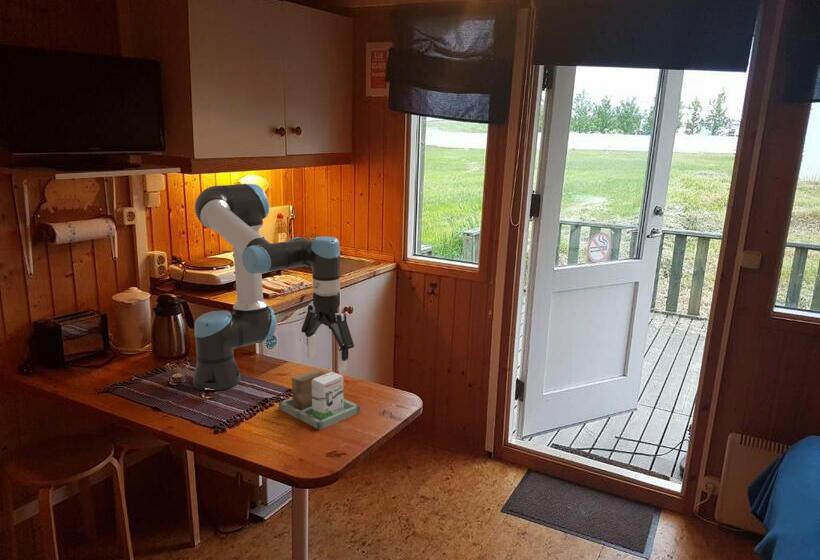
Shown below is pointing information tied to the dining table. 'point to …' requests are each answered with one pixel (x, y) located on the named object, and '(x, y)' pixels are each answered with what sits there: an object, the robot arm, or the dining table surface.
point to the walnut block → (304, 388)
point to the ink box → (327, 395)
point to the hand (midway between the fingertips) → (327, 363)
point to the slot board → (307, 417)
